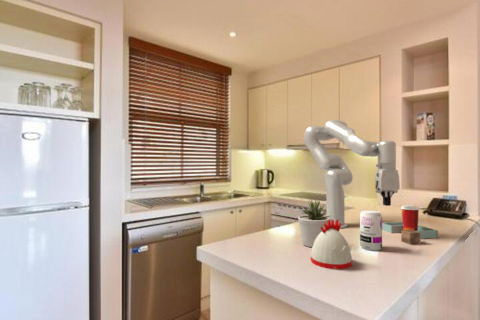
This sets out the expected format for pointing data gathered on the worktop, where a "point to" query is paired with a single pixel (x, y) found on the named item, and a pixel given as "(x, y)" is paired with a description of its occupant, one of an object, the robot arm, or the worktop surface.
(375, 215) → the supplement can
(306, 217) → the potted plant
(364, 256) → the worktop surface
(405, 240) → the walnut block
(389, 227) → the caddy
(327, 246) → the white crested dome
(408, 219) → the paper cup
